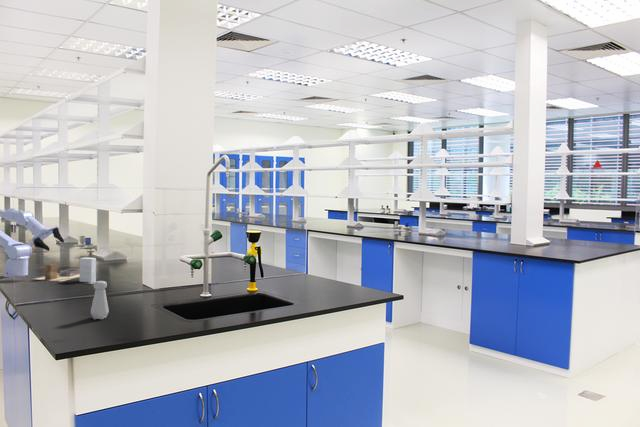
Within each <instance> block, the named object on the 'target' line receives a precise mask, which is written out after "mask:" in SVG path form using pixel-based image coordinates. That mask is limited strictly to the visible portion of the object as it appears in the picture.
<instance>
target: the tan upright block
mask: <svg viewBox="0 0 640 427" xmlns="http://www.w3.org/2000/svg"><path fill="white" fill-rule="evenodd" d="M57 273H58V263H49V264H48V263H47V264H44V276H45V280H44V281H50V280H53V279H57Z"/></svg>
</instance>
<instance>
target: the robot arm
mask: <svg viewBox="0 0 640 427" xmlns="http://www.w3.org/2000/svg"><path fill="white" fill-rule="evenodd" d="M1 217H2V218H4V220H6V221H9V222H13V223H16V224H17V225H21V226H23V227H25V229H27V230H28V231H30V233H32V235H34V236H33V237H32V238H30V239H28V242H29V244H28V243H27V244H26V243H25V242H22V241H17V240H14V238H12V237H11V236H9V235H8V234H7V233H5V232H4V231H2V230H1V229H0V246H2V248H4V253H5V254H6V255H7V257H8V259H7V260H6V261H5V265H4V272H5V273H4V275H3V277H4V278H13V277H25V276H28V275H29V259H30V257H31V256H32V254H33V248H32V246H33V245H34V247H35V248H40V249H43V250H45V251H47V252H49V251H50V247H49V246H48V245H47V244H46V243H45V241H43V240H45V239H46V238H48V237H49V236H50V235H51V234H52V235H53V238H54V239H56V240H58V241H59V242H60V243H62V244H63V243H65V239H64V238H63V237H62V235H61V233H60V227H59V226H58V225H55V226H51V227H48V228H46V227H45V226H44V225H43V224H42V223H41V222H39V221H38V220H37V219H36V218H35V216H34V213H33V212H31V211H23V210H22V209H21V210H20V209H19V210H17V209H16V208H11V207H10V208H9V209H6V210H4V209H0V218H1Z"/></svg>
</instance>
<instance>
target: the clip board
mask: <svg viewBox="0 0 640 427" xmlns="http://www.w3.org/2000/svg"><path fill="white" fill-rule="evenodd" d="M79 277H80V269H75V268H69V269H64V270H59V271H58V272H57V279H53V280H49V281H54V282H65V281H69V280H73V279H77V278H78V279H79ZM33 280H40V281H46V280H45V275H44V276H39V277H35V278H33Z"/></svg>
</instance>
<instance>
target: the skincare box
mask: <svg viewBox="0 0 640 427" xmlns="http://www.w3.org/2000/svg"><path fill="white" fill-rule="evenodd" d="M79 270H80V277H78V280H79V283H80V282H82V284H84V285H94V282H96V281H97V258H96V257H80V258H79Z"/></svg>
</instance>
